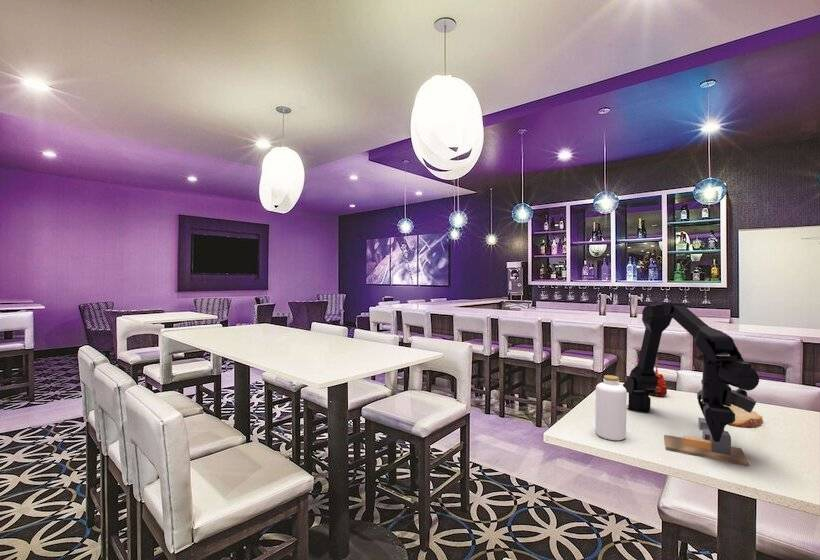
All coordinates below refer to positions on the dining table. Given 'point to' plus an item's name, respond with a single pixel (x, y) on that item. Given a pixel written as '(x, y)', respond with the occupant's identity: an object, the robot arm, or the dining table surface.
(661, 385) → the red clay folk toy
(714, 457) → the walnut board
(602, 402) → the potion bottle
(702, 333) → the robot arm
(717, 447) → the plug
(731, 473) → the dining table surface
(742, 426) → the slice of bread
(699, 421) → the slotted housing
